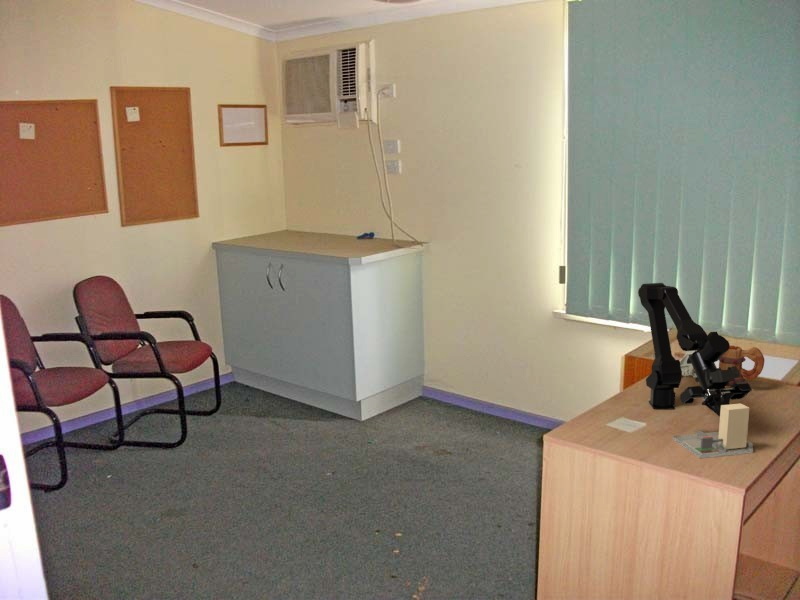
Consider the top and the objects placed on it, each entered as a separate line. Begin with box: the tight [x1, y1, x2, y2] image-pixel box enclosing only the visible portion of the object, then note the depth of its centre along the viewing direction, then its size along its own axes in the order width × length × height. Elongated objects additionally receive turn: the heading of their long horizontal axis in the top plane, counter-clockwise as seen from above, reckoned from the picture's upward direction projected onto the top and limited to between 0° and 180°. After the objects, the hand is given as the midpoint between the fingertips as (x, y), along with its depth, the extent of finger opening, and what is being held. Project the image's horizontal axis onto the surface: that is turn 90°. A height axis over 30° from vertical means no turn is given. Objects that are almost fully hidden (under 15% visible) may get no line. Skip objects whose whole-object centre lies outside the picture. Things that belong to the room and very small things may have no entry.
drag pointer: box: [701, 436, 713, 449], centre depth 196 cm, size 1×3×3 cm, turn 101°
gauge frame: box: [672, 429, 754, 459], centre depth 202 cm, size 13×16×2 cm
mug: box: [718, 345, 765, 388], centre depth 245 cm, size 15×8×15 cm, turn 55°
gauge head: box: [713, 403, 750, 449], centre depth 198 cm, size 4×11×11 cm, turn 101°
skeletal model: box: [678, 350, 697, 379], centre depth 260 cm, size 16×9×25 cm
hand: (727, 421), depth 200 cm, fingers closed, pressing on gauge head
